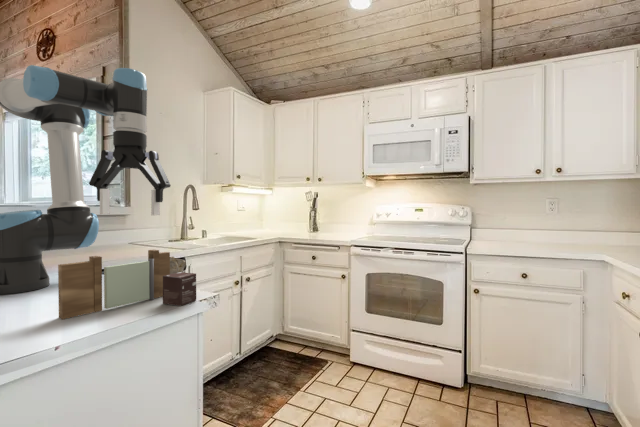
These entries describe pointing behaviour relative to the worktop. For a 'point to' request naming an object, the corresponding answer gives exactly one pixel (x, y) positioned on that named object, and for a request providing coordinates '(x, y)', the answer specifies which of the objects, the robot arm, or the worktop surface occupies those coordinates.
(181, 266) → the rock
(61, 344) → the worktop surface
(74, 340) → the worktop surface
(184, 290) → the box
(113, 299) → the door
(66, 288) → the partition
